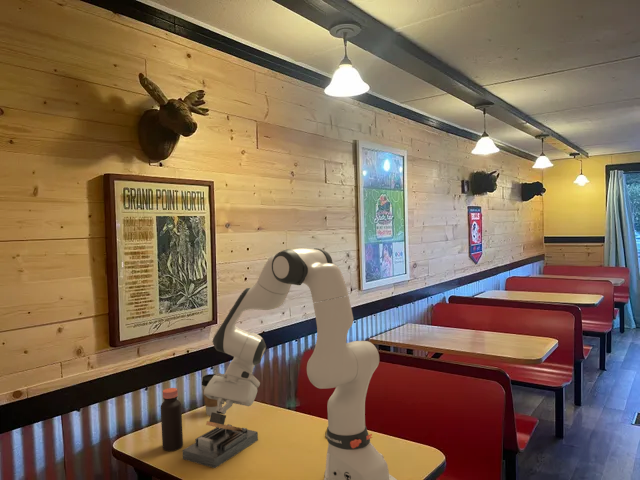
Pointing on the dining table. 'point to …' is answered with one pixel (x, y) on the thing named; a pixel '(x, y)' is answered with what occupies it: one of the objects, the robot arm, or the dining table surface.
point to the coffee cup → (209, 403)
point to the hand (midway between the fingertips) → (219, 413)
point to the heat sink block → (219, 446)
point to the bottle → (171, 420)
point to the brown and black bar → (220, 422)
